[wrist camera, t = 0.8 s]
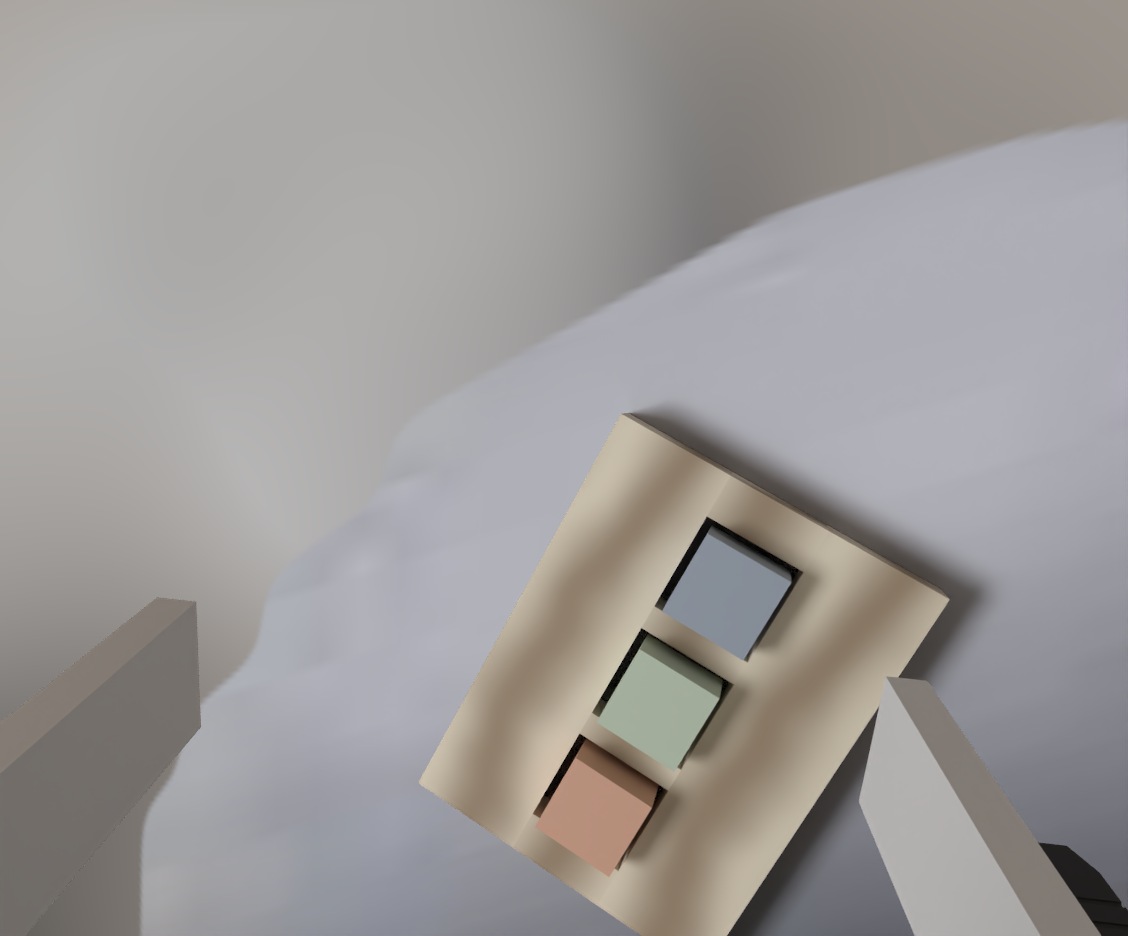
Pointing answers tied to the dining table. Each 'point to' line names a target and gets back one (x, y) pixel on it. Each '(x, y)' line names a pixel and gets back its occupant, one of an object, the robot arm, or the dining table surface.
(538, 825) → the terracotta button
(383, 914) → the dining table surface
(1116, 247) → the dining table surface
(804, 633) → the button panel
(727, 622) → the slate button
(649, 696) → the sage button
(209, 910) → the dining table surface
